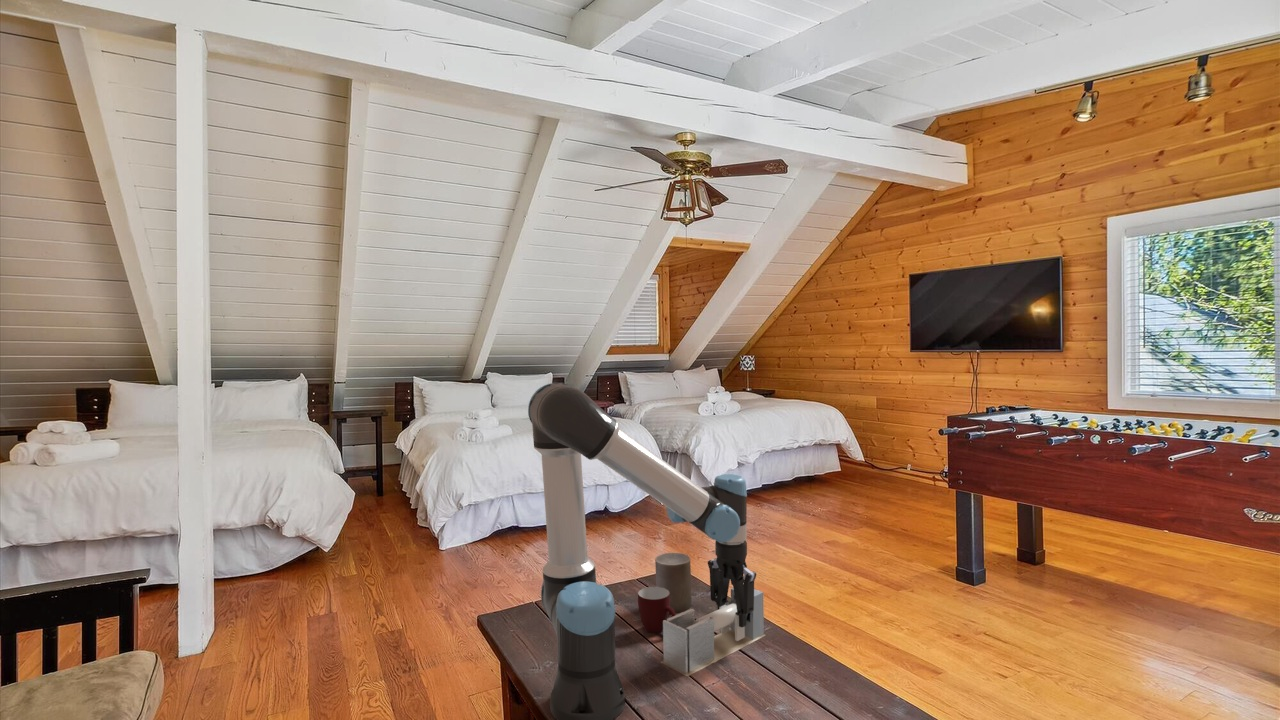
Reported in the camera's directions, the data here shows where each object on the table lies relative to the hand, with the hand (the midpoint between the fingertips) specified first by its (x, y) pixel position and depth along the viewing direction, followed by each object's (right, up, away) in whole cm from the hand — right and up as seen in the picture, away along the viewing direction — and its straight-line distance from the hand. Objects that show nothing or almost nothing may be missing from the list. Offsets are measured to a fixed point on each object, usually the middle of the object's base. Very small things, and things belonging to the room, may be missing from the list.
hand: (732, 635), depth 158 cm
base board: (-4, -2, -4) cm, 6 cm away
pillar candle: (-13, -1, +21) cm, 24 cm away
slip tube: (-2, +3, -2) cm, 4 cm away
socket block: (+4, -1, +4) cm, 6 cm away
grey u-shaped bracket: (-11, -2, -9) cm, 14 cm away
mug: (-17, -2, +6) cm, 19 cm away
